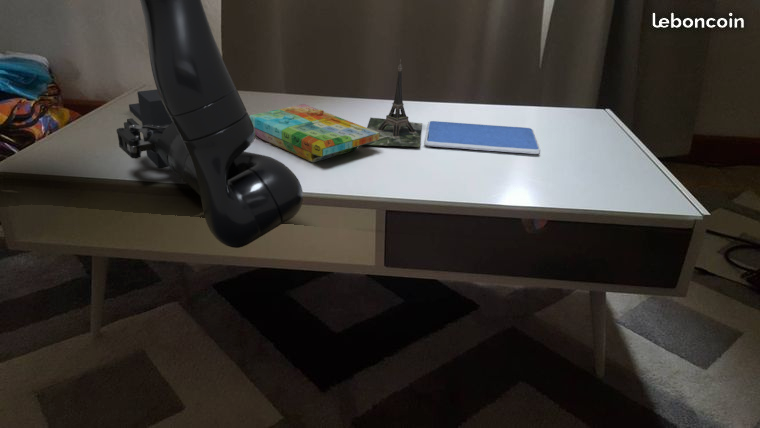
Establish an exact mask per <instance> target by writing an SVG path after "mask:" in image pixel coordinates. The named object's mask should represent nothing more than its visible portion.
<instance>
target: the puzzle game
mask: <svg viewBox="0 0 760 428" xmlns="http://www.w3.org/2000/svg"><path fill="white" fill-rule="evenodd" d="M248 115H249V117H250V119H251V121H252V123H253V126H254V129H255V136H256V137H257V138H259V139H260V140H262V141H265V142H267V143H268V144H271V145H273V146H276V147H277V148H280V149H282V150H285V151H286V152H289V153H290V154H293V155H295V156H298V157H300V158H301V159H304V160H306V161H308V162H310V163H316V162H320V161H323V160H327V159H330V158H334V157H336V156H340V155H344V154H347V153H351V152H354V151H356V150H357V149H358V148H359V147H360V146H363V144H367V143H370V142H374V141H377V140H379V138H380V133H379V132H376V131H373V130H371V129H368V128H367V126H362V125H360V124H358V123H356V122H355V123H354V122H352V121H350V120H348V119H345V118H342V117H339V116H337V115H334V114H332V113H329V112H326V111H324V110H323V109H318V108H317V107H314V106H311V105H308V104H305V103H302V104H298V105H293V106H289V107H283V108H278V109H274V110H268V111H265V112H264V111H263V112H259V113H255V114H248Z"/></svg>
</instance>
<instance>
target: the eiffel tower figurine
mask: <svg viewBox="0 0 760 428" xmlns="http://www.w3.org/2000/svg"><path fill="white" fill-rule="evenodd" d="M401 61H402V59H401V58H400V61H399V63H400V64H399V65H397V79H396V85H395V86H396V87H395V92H394V99H393V101H392V103H391V104H392V106H391V108H390V110H389V112H388V114H386V116H385V118H380V117H370V118H369V120H368V124H367V126H366V128H368V129H371V130H373V131H376V132H379V133H380V138H379V140H377V141H374V142H370V143H367V144H363V145H365V146H385V147H386V146H387V147H415V148H416V147H417V148H420V146H421V140H422V127H423V123H421V122H412V121H410V120H409V116H407V114H406V111H405V107H404V104H405V103H404V101H403V83H402V82H403V81H402V80H403V79H402V76H403V74H402V73H403V72H402V71H403V65H402V63H401ZM363 145H362V146H363Z"/></svg>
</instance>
